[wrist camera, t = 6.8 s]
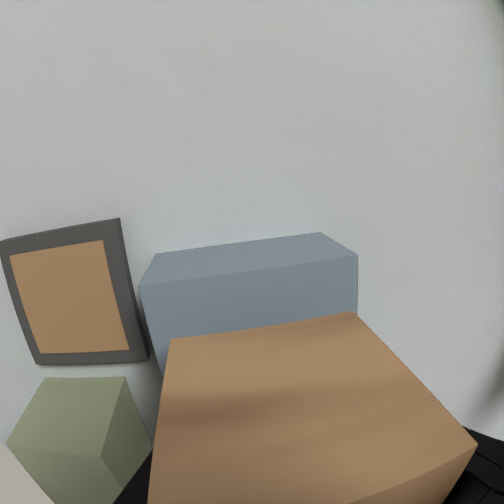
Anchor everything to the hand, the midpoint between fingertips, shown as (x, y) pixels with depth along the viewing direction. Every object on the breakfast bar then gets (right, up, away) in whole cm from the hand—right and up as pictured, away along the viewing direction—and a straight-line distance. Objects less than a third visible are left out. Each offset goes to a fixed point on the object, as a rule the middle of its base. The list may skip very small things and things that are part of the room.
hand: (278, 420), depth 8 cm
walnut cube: (0, 0, +1) cm, 1 cm away
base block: (-1, +2, +6) cm, 7 cm away
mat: (-9, +3, +5) cm, 10 cm away
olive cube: (-9, -4, +7) cm, 12 cm away
